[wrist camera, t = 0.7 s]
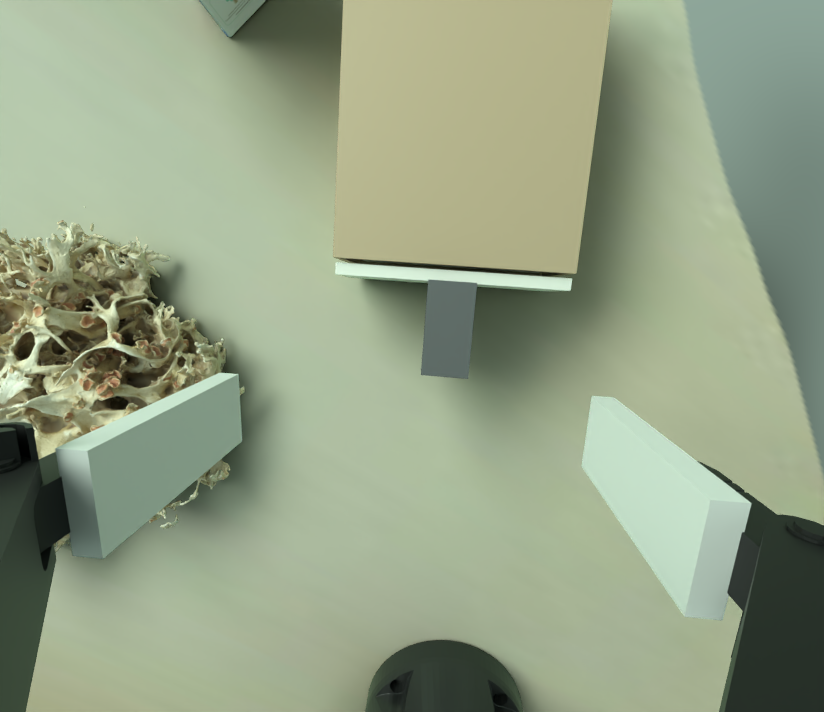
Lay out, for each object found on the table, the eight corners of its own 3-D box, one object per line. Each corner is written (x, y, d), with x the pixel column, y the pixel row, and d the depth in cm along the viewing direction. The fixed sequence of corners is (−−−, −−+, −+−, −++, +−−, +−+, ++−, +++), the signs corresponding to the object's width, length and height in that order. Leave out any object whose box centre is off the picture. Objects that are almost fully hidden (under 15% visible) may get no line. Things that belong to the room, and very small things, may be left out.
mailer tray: (537, 364, 33) (570, 387, 25) (349, 349, 34) (322, 366, 26) (581, 10, 29) (636, -99, 21) (365, 3, 30) (339, -106, 22)
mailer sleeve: (547, 278, 33) (576, 273, 26) (354, 264, 34) (333, 257, 27) (580, 4, 30) (623, -83, 23) (367, -3, 31) (346, -90, 24)
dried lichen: (303, 440, 37) (245, 503, 26) (64, 584, 41) (-77, 694, 30) (129, 182, 34) (-19, 128, 23) (-108, 363, 38) (-333, 392, 27)
